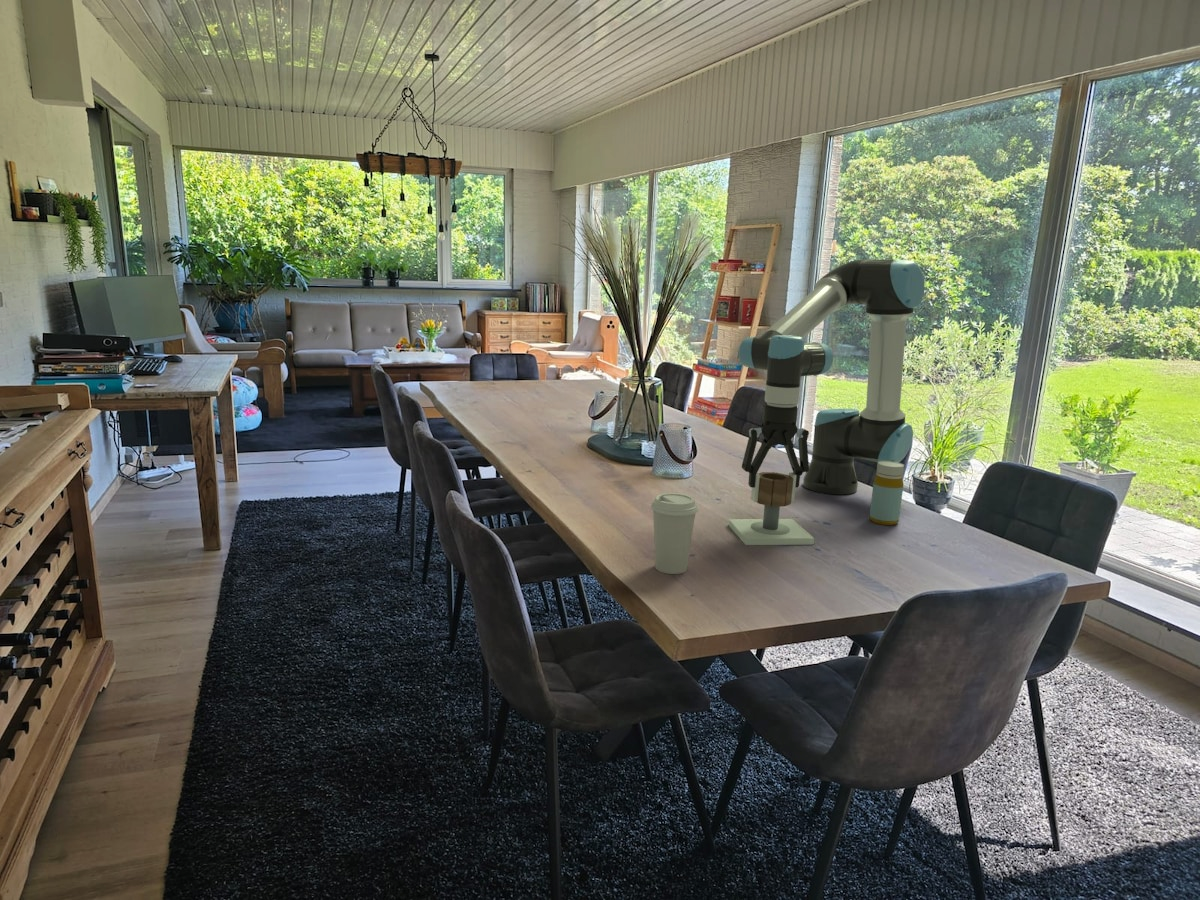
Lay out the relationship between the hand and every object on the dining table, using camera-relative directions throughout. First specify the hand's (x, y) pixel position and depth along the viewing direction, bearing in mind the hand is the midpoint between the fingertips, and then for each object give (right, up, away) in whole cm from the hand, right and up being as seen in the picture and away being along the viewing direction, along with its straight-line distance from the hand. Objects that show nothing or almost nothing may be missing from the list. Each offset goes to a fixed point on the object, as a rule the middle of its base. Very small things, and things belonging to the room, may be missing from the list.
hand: (772, 500), depth 179 cm
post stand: (0, -8, +2) cm, 8 cm away
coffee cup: (-26, -13, -21) cm, 35 cm away
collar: (0, 0, 0) cm, 0 cm away
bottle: (+31, -6, +15) cm, 35 cm away
